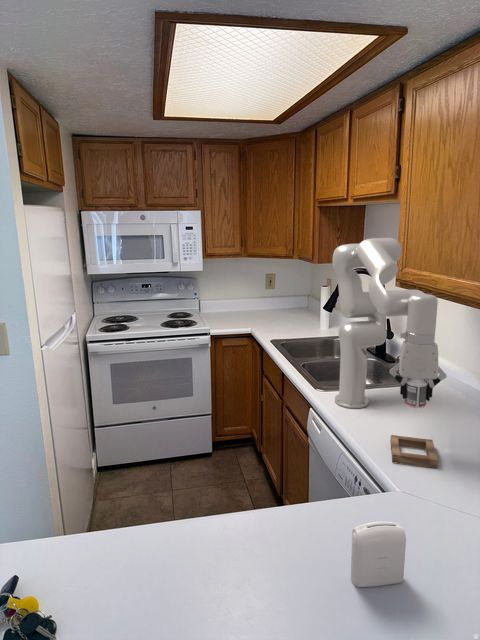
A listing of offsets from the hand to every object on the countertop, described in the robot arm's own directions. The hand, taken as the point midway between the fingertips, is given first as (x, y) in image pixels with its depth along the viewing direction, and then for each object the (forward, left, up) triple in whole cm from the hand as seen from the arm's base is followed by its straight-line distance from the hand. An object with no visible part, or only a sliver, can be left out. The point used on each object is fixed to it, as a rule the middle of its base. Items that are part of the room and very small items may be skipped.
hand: (415, 397), depth 124 cm
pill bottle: (0, 0, -3) cm, 3 cm away
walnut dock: (+1, 0, -18) cm, 18 cm away
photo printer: (+51, -11, -18) cm, 55 cm away
